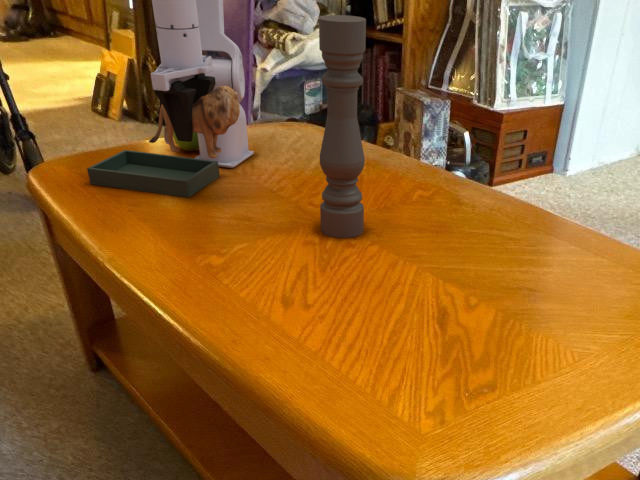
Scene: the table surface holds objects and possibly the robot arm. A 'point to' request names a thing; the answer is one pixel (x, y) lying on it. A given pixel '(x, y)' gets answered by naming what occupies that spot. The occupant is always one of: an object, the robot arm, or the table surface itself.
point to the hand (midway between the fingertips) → (192, 136)
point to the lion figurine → (206, 118)
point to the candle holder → (342, 125)
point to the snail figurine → (188, 143)
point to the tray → (154, 173)
